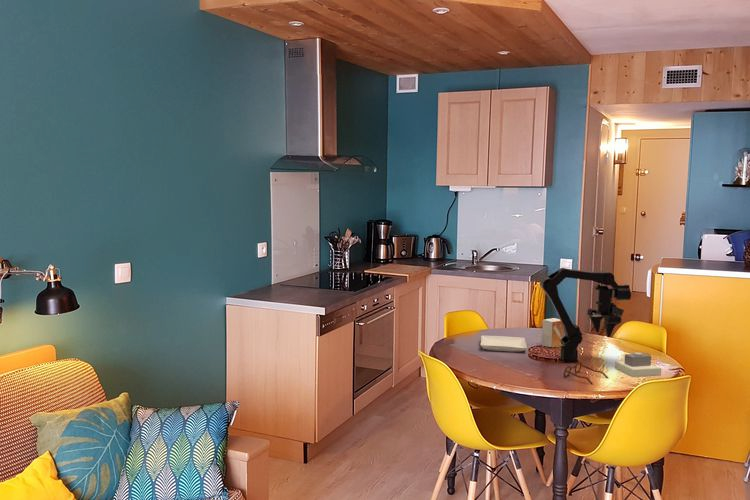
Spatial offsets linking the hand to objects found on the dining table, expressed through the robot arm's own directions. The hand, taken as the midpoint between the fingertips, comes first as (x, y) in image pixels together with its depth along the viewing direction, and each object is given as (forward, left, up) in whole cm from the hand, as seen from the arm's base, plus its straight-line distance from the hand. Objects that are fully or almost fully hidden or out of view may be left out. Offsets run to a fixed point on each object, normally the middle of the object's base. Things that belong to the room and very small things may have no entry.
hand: (603, 334), depth 287 cm
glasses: (-20, -21, -13) cm, 32 cm away
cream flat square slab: (-33, +32, -13) cm, 48 cm away
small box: (-9, +29, -12) cm, 32 cm away
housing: (+6, -17, -9) cm, 20 cm away
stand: (+6, -17, -12) cm, 22 cm away
